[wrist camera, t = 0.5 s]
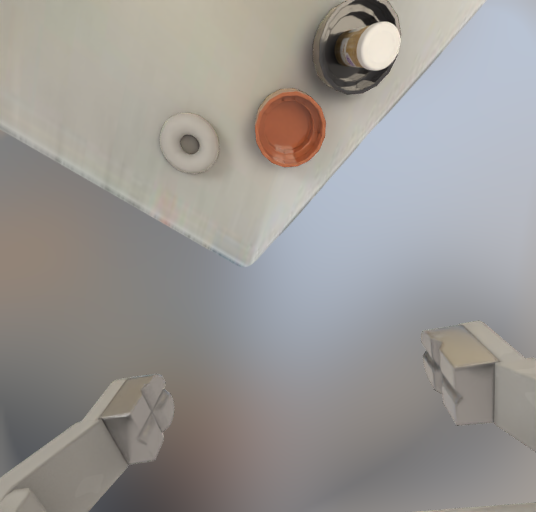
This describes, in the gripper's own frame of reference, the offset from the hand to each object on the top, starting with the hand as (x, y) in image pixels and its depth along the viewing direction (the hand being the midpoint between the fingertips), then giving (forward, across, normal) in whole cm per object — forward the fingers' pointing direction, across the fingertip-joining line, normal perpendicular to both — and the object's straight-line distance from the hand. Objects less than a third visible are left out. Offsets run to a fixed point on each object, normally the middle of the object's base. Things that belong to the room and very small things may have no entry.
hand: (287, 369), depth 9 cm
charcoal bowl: (+45, -14, -18) cm, 51 cm away
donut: (+46, +15, -12) cm, 50 cm away
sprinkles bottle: (+45, -14, -18) cm, 51 cm away
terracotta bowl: (+47, -2, -11) cm, 48 cm away
